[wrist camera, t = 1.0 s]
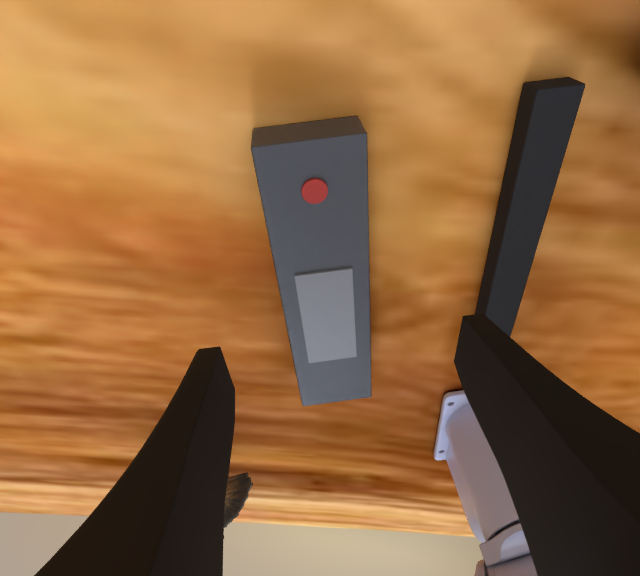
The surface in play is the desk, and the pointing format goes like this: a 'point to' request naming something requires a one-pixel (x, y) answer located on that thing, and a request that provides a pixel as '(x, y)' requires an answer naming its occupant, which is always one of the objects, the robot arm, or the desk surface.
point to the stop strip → (527, 193)
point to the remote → (320, 249)
